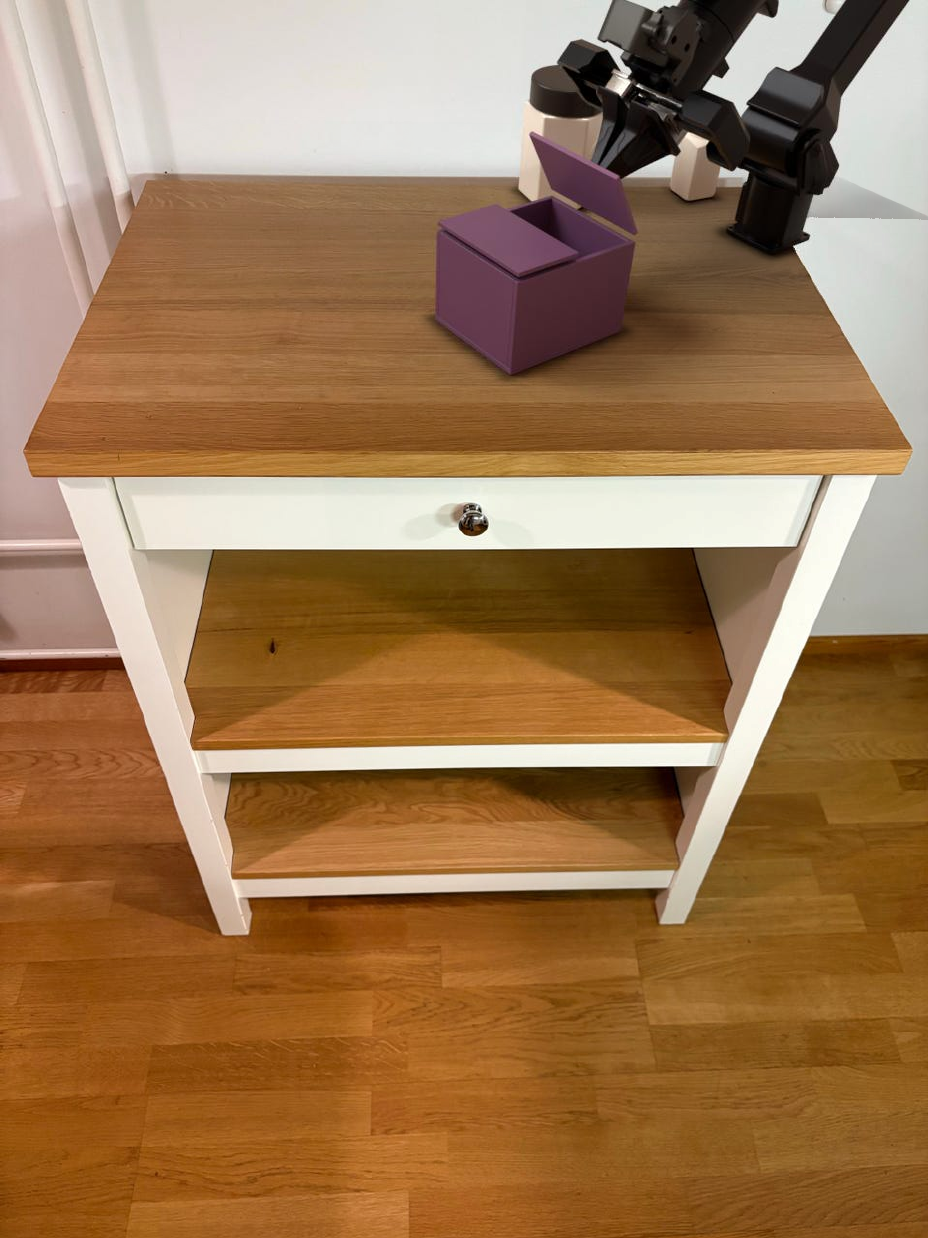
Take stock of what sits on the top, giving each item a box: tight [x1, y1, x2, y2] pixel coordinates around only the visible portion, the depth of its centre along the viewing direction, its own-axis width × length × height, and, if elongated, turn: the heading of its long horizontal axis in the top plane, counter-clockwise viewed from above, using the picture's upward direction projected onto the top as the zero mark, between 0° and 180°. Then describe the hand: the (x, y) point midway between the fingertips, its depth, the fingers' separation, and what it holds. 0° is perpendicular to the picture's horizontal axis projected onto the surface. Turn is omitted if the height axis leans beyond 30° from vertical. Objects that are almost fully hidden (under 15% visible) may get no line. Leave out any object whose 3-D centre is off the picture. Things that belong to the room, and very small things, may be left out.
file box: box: [434, 195, 636, 376], centre depth 87 cm, size 13×11×9 cm
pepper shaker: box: [669, 132, 722, 201], centre depth 108 cm, size 4×4×10 cm
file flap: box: [529, 131, 639, 236], centre depth 84 cm, size 6×11×1 cm
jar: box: [518, 64, 603, 210], centre depth 105 cm, size 9×8×12 cm
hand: (588, 190), depth 84 cm, fingers closed, pressing on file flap
